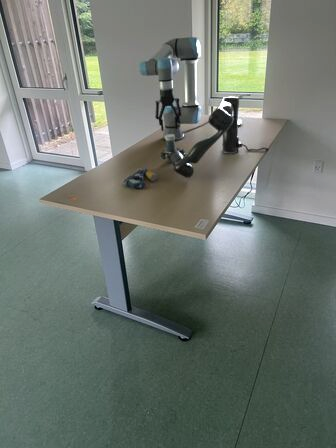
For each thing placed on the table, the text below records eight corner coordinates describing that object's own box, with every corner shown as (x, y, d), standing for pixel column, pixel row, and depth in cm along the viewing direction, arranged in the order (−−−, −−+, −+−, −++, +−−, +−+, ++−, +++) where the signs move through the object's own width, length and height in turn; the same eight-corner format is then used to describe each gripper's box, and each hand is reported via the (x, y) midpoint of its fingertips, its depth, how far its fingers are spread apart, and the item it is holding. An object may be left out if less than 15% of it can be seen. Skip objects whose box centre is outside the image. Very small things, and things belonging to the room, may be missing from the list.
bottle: (166, 161, 208) (164, 137, 200) (169, 159, 212) (167, 134, 204) (174, 162, 206) (172, 137, 198) (176, 159, 210) (174, 135, 202)
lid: (164, 140, 200) (164, 136, 199) (167, 137, 205) (166, 134, 204) (173, 140, 199) (173, 137, 198) (175, 137, 203) (175, 134, 202)
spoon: (234, 136, 244) (234, 133, 243) (220, 136, 248) (220, 133, 247) (243, 120, 270) (243, 118, 269) (230, 120, 274) (230, 118, 273)
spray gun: (162, 175, 189) (139, 172, 195) (161, 168, 187) (138, 166, 193) (144, 191, 174) (120, 188, 180) (143, 184, 171) (119, 181, 178)
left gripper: (182, 85, 192) (184, 125, 204) (147, 90, 188) (151, 130, 200) (185, 87, 185) (187, 128, 197) (149, 92, 182) (153, 133, 194)
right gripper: (188, 151, 192) (181, 142, 206) (164, 154, 190) (158, 146, 204) (189, 163, 196) (182, 154, 210) (165, 167, 194) (159, 158, 208)
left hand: (169, 129), depth 199 cm, fingers open, 8 cm apart
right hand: (170, 150), depth 207 cm, fingers open, 8 cm apart
